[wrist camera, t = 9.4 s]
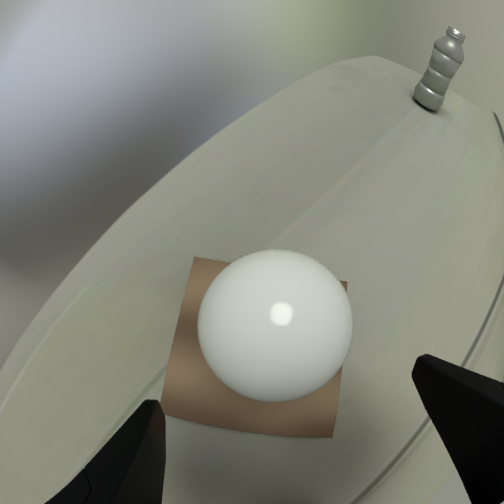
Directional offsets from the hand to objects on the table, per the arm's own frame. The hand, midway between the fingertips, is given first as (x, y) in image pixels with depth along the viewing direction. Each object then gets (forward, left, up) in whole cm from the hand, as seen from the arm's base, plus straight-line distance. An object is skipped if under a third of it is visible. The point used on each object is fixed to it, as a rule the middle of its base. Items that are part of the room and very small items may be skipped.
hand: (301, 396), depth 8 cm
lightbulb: (+3, +1, -10) cm, 11 cm away
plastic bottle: (+52, -27, -13) cm, 60 cm away
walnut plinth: (+3, +1, -13) cm, 13 cm away
